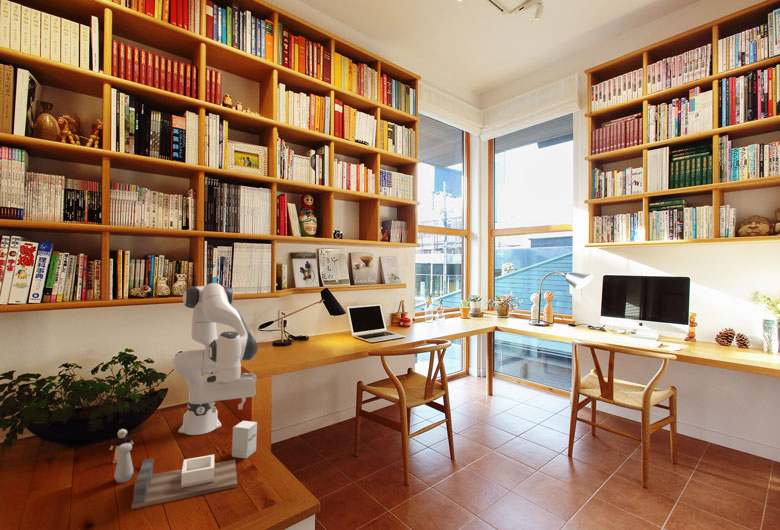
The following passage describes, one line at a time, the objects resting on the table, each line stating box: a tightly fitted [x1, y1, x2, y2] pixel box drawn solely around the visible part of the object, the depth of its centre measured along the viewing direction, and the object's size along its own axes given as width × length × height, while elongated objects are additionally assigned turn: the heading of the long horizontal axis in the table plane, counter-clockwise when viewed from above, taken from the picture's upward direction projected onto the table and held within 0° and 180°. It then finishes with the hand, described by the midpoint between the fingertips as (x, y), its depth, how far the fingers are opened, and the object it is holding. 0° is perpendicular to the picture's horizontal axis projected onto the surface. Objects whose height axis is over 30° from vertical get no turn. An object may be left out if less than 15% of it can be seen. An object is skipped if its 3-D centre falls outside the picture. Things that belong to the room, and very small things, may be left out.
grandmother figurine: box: [109, 428, 134, 464], centre depth 149 cm, size 8×4×13 cm, turn 143°
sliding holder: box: [181, 454, 215, 488], centre depth 136 cm, size 10×10×5 cm
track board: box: [130, 457, 238, 510], centre depth 134 cm, size 18×32×8 cm, turn 116°
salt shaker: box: [113, 442, 134, 484], centre depth 136 cm, size 6×6×13 cm
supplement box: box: [231, 420, 258, 459], centre depth 157 cm, size 7×7×13 cm
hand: (227, 410), depth 141 cm, fingers open, 8 cm apart
